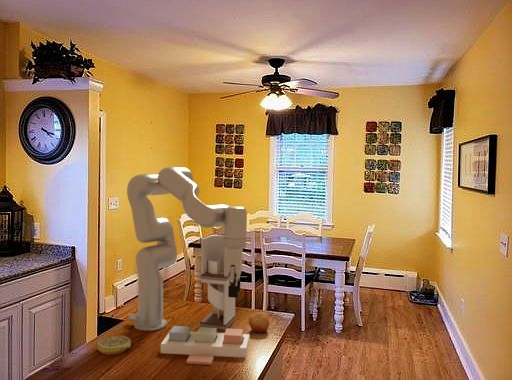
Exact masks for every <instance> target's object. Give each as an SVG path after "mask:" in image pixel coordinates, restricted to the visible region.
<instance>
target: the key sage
mask: <svg viewBox="0 0 512 380" xmlns="http://www.w3.org/2000/svg"><path fill="white" fill-rule="evenodd" d="M217 330H218V329H217V328H206V327H199V328H198V330H197V331H196V332H197V333H196V342H197V343H214V341H215V339H216V337H217V333H218V331H217Z"/></svg>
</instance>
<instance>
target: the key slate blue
mask: <svg viewBox="0 0 512 380" xmlns="http://www.w3.org/2000/svg"><path fill="white" fill-rule="evenodd" d="M190 331H191V326H187V325H186V326H185V325H184V326H183V325H182V326H181V325H179V326H178V325H173V326H172V328H171V329H170V330H169V331H168V333H169V341H178V342H187V340H188V338H189V337H190Z"/></svg>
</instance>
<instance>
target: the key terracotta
mask: <svg viewBox="0 0 512 380" xmlns="http://www.w3.org/2000/svg"><path fill="white" fill-rule="evenodd" d="M223 333H224V344H236V345H241V344H242V340H243V334H244V329H243V328H226V330H224V332H223Z"/></svg>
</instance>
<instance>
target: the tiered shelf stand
mask: <svg viewBox="0 0 512 380" xmlns="http://www.w3.org/2000/svg"><path fill="white" fill-rule="evenodd" d="M200 241H201V242H200V243H201V245H200V248H201V249H200V250H201V251H200V283H203V284H205V283H206V284H207V300H208V302H209V303H210V304H211V306H212V312H210V313H209V314H207V315H206V316H205V317H204V318H203V319H202V320H200V321H199V322H200V324H199V326H200V327H206V328H217V330H223V331H226V328H227V329H229V327H230V326H231V325H232V324H233V323H234V322H235V321H236V298H233V297H228V286H229V276H227V277H226V276H225V265H226V251H227V248H226V247H224V235H223V234H211V235H208V236H206V237H203V238H201V239H200ZM200 327H199V328H200Z"/></svg>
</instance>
